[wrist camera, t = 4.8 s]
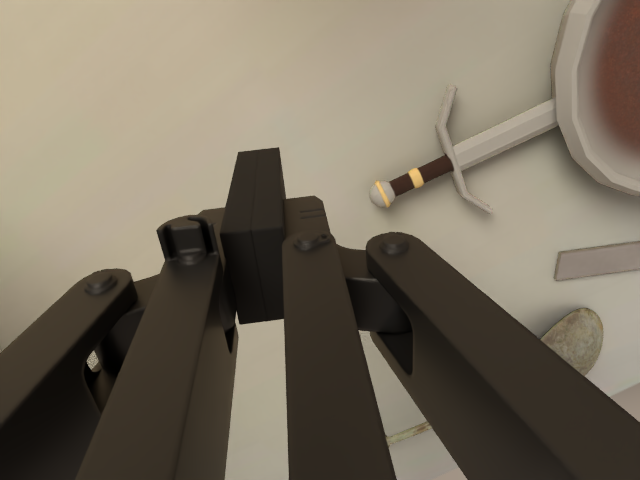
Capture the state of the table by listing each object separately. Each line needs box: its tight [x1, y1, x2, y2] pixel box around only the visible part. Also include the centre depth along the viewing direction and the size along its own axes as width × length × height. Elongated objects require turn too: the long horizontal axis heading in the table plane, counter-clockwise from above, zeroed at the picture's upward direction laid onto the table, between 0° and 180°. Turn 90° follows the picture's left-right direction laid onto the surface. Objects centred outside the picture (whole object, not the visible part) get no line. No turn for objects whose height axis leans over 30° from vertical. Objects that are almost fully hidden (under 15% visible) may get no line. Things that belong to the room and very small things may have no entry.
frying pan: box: [370, 0, 640, 214], centre depth 25 cm, size 17×3×28 cm
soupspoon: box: [385, 308, 603, 448], centre depth 35 cm, size 22×3×7 cm
